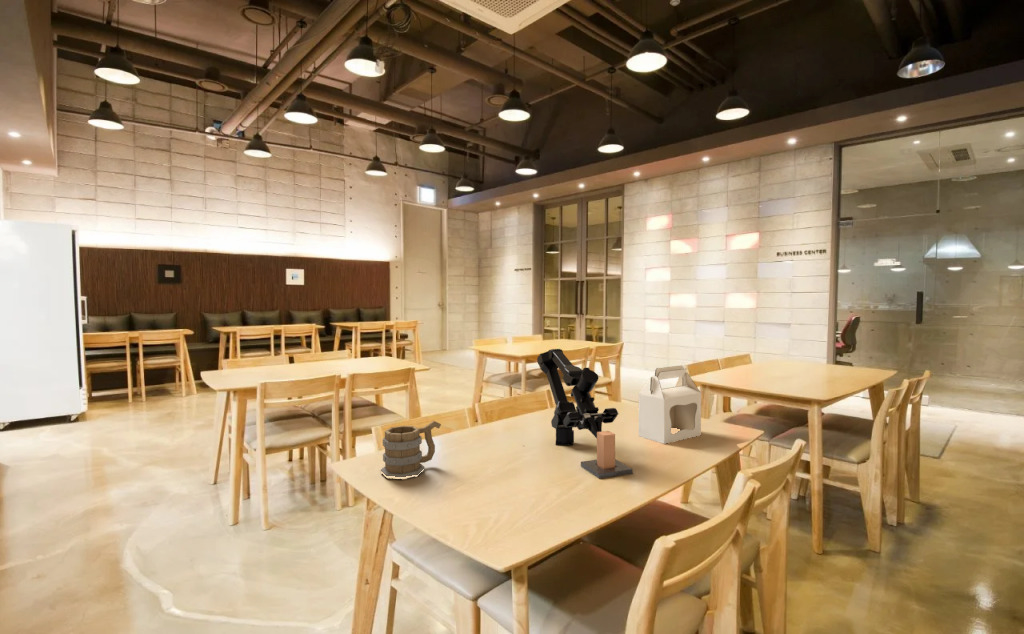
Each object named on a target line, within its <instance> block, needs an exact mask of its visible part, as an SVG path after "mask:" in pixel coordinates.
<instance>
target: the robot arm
mask: <svg viewBox="0 0 1024 634" xmlns="http://www.w3.org/2000/svg"><path fill="white" fill-rule="evenodd" d="M563 351H564V350H563V349H561V348H551V349H549V350H548V351H545V352H542V353H540V354H539V355H538V356H537V358H536V359H537V360H536V361H537V365H538V366H539V369H540V371H542V372H543V373H544V374H545V375H546V377H547V381H548V384H549V388H550V390H551V394H552V396H553V401H554V404H555V408H554V411H553V417H552V419H551V427H552V428H553V429H554V430H555V443H554V444H555V446H573V445H574V442H575V430H573V428H577V429H578V431H579V430H580V431H581V430H588V431H589V432H590V433H591V434H592V435H593V436H594V437H595V439H597V432H603V430H602V426H603V423H604V424H612V423H614V421H615V420H616V419H617V417H618V415H619V411H618V410H617V408H616V407H609V408H608V407H607V408H605V409H604V410H603V411H602V412H599V406H598V407H596V405H595V402H594V401H595V400H596V399H595V397H593V396H591V395H592V394H591V393H590V392H592V391H593V389H594V388H595V386H596V385H597V382H598V381H599V375H598V373H596V372H595V371H594V370H592V369H590V367H583V369H582V368H581V367H579V366H576V365H574V364H573V363H572V362H571V361H570V360H569V358H568V357H567V356H566V355H565V354H564V352H563ZM558 369H559V371H560V372H561V373H562V374H563V375H562V376H563V377H562V380H563V382H564V384H565V385H566V386H567V387H572V389H571V392H570V397H573V398H574V401H575V403H574V402H573V401H569V400H568V398H567V394H566V392H565V389H564V385H563V383H562V380H561V376H560V373H559V371H558ZM575 404H576V405H575Z"/></svg>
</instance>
